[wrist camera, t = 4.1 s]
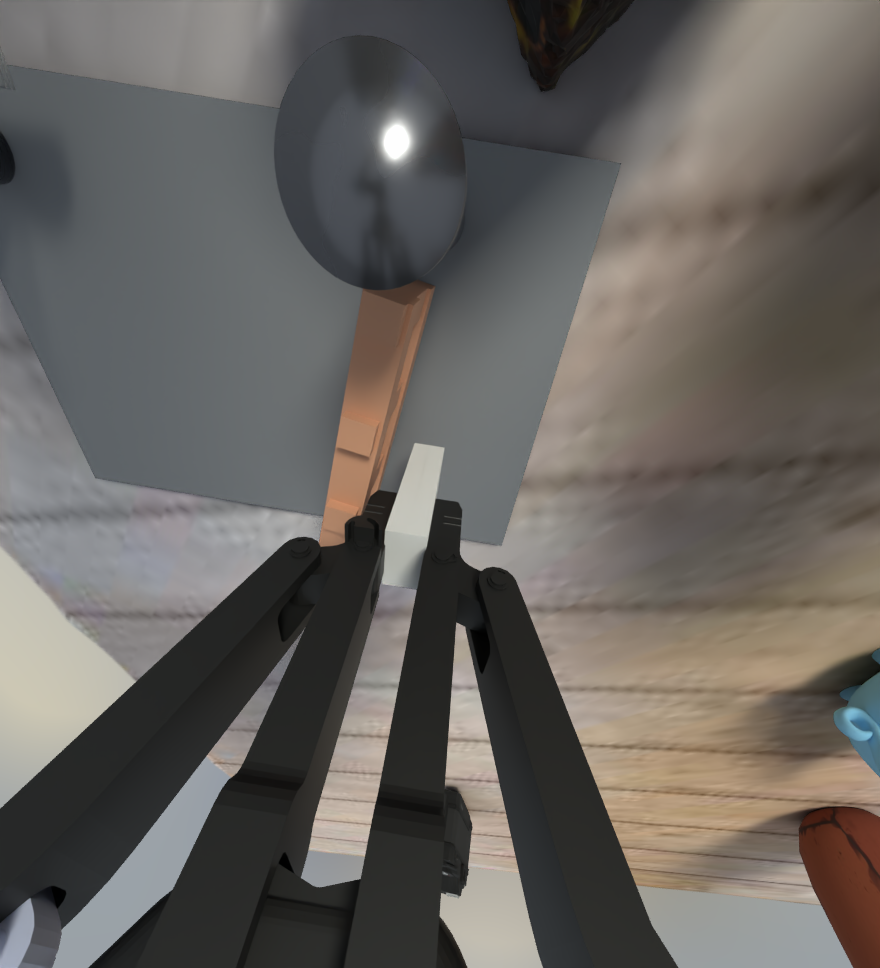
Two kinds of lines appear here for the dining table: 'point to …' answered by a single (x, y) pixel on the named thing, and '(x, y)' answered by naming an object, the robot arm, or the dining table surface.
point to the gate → (373, 399)
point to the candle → (560, 32)
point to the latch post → (3, 163)
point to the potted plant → (846, 876)
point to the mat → (270, 300)
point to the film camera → (455, 844)
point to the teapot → (863, 718)
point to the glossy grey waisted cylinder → (370, 163)
